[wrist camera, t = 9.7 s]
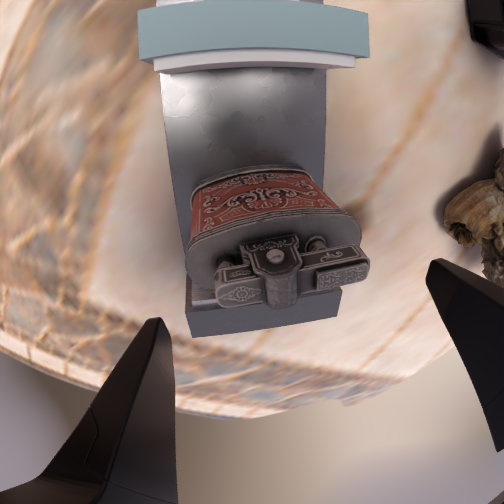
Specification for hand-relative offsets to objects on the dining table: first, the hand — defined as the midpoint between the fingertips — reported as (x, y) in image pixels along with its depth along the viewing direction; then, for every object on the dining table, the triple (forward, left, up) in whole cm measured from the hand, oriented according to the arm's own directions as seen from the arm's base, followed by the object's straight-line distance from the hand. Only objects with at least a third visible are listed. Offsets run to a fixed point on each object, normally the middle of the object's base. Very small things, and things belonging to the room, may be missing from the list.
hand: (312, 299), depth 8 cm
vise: (0, -3, -13) cm, 13 cm away
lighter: (0, +1, -12) cm, 12 cm away
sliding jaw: (0, -11, -11) cm, 16 cm away
